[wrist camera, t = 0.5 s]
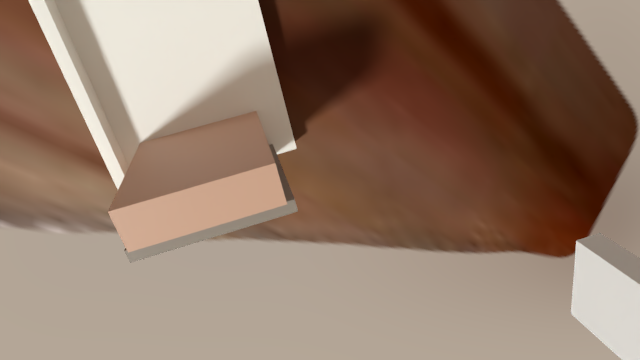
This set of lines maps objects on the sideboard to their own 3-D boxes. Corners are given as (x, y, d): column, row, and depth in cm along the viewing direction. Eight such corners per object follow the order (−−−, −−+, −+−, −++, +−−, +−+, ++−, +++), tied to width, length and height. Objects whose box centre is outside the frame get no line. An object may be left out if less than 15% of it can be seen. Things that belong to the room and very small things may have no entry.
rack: (-16, -140, 25) (-197, -243, 14) (208, -184, 27) (205, -310, 15) (133, 188, 34) (95, 284, 23) (293, 142, 36) (330, 211, 25)
